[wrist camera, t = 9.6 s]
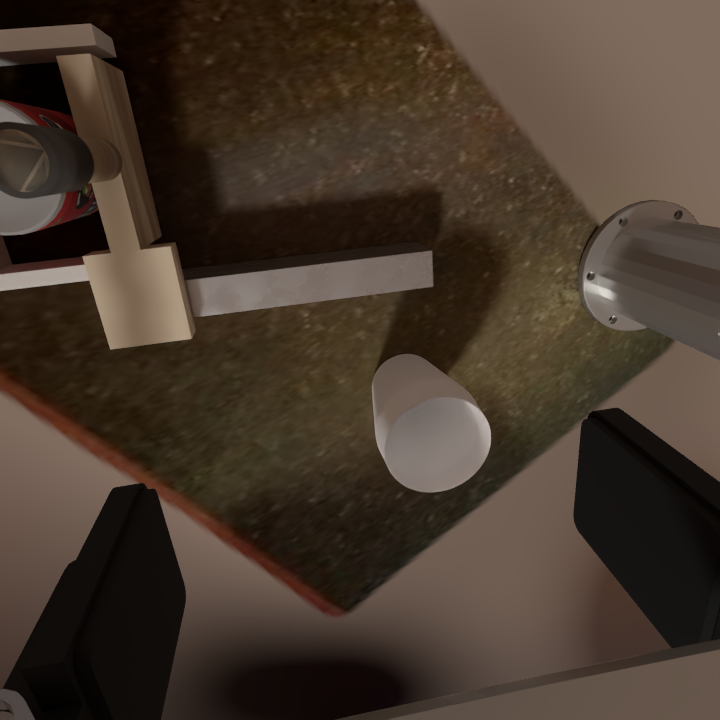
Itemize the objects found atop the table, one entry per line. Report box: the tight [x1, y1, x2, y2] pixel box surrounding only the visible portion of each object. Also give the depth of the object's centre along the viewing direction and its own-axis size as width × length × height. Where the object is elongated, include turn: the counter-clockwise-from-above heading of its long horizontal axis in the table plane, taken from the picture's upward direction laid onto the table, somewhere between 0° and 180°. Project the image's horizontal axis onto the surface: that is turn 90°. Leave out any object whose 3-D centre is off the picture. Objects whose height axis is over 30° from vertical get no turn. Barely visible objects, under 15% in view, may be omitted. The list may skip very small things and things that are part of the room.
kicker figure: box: [0, 53, 196, 349], centre depth 32 cm, size 6×19×18 cm, turn 5°
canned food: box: [0, 99, 99, 235], centre depth 34 cm, size 8×8×11 cm
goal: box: [0, 24, 116, 291], centre depth 35 cm, size 13×16×10 cm
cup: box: [372, 354, 491, 492], centre depth 45 cm, size 9×9×12 cm
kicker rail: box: [182, 241, 433, 317], centre depth 43 cm, size 22×3×5 cm, turn 95°
